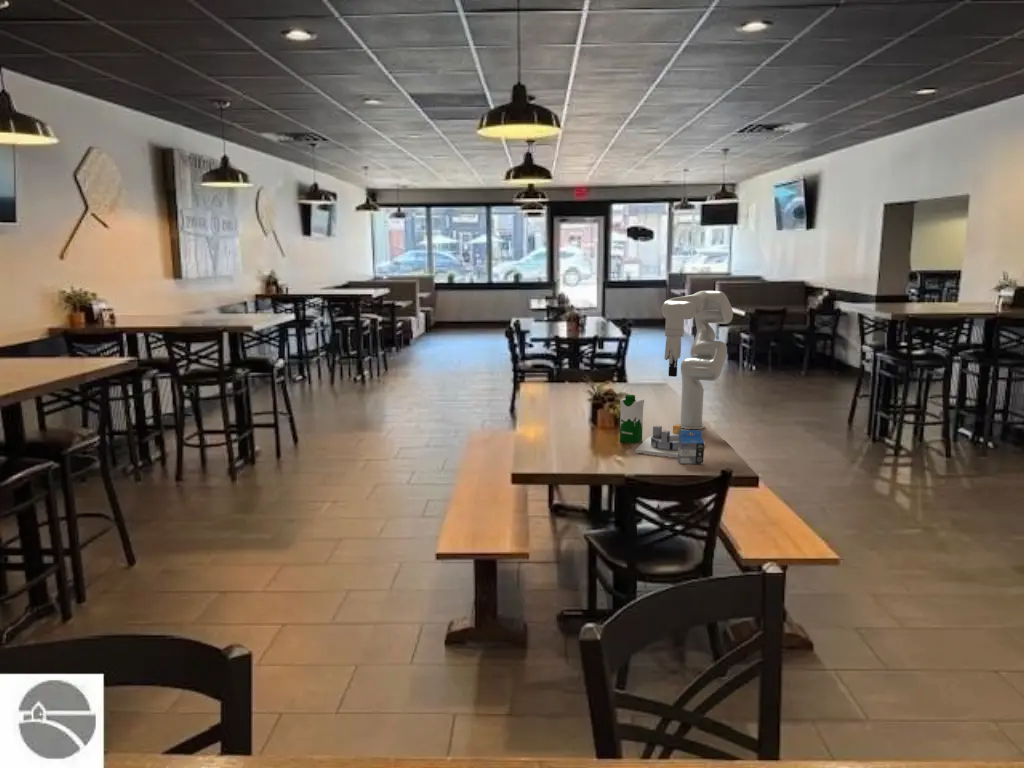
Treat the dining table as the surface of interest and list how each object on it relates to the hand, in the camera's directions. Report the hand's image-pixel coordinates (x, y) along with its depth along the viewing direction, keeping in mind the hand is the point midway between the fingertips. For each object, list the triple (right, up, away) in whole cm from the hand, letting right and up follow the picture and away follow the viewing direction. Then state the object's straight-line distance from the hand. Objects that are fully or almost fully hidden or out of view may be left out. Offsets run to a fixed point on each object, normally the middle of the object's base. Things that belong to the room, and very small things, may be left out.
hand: (672, 376), depth 308 cm
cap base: (-3, -30, -12) cm, 32 cm away
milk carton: (-17, -28, +1) cm, 33 cm away
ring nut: (-3, -28, -12) cm, 31 cm away
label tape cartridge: (0, -33, -31) cm, 45 cm away
